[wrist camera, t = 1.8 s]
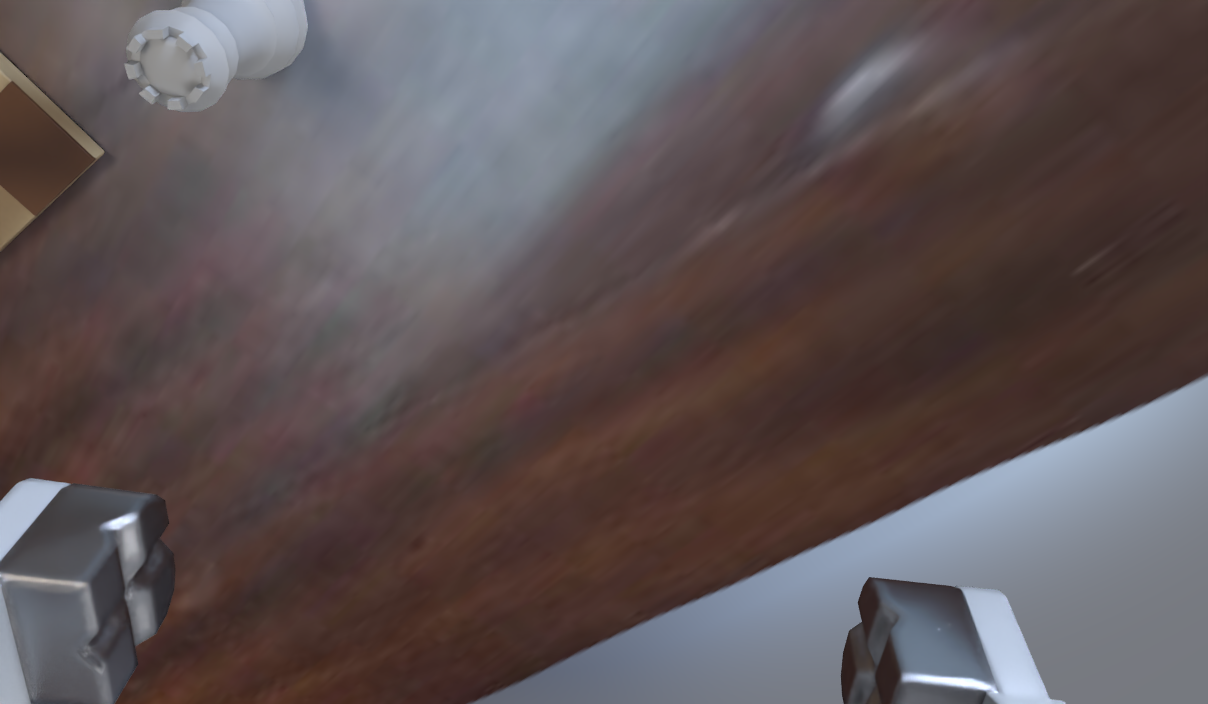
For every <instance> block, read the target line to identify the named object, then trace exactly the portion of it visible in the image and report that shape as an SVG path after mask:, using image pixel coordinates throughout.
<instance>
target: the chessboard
mask: <svg viewBox="0 0 1208 704" xmlns="http://www.w3.org/2000/svg"><path fill="white" fill-rule="evenodd" d="M103 154H104V150H103V149H102V148H101V147H100V146H99V145H97V144H96V143H95V142H94V141H93V140H92V139H91V138H90V137H89V136H88V135H87V134H86V133H85V132H84V131H83V130H82V129H81V128H80V127H79V126H78V125H76V124H75V123H74V122H73V121H72V120H71V119H70V118H69V117H68V116H67V115H66V114H65V113H64V112H63V111H62V110H61V109H60V108H59V107H58V106H56V105H55V104H54V103H53V102H52V101H51V100H50V99H49V98H48V97H47V96H46V95H45V94H44V93H43V92H42V91H41V90H40V89H39V88H38V87H36V86H35V85H34V84H33V83H32V82H31V81H30V80H29V79H28V78H27V77H26V76H25V75H24V74H23V73H22V72H21V71H20V70H19V69H18V68H16V67H15V66H14V65H13V64H12V63H11V62H10V61H9V60H8V59H7V58H6V57H5V56H4V55H3V54H2V53H1V52H0V252H1V251H2V250H3V249H4V248H5V247H6V246H7V245H8V244H9V243H10V242H11V241H12V240H13V239H14V238H16V237H17V236H18V235H19V234H20V233H21V232H22V231H23V230H24V229H25V228H26V227H27V226H28V225H29V224H30V223H31V222H32V221H34V220H35V219H36V218H37V217H38V216H39V215H40V214H41V213H42V212H43V211H44V210H45V209H46V208H47V207H48V206H49V205H50V204H51V203H53V202H54V201H55V200H56V199H57V198H58V197H59V196H60V195H61V194H62V193H63V192H64V191H65V190H66V189H67V188H68V187H69V186H70V185H72V184H73V183H74V182H75V181H76V180H77V179H78V178H79V177H80V176H81V175H82V174H83V173H84V172H85V171H86V170H87V169H88V168H90V167H91V166H92V165H93V164H94V163H95V162H96V161H97V160H98V159H99V158H100V157H101V156H102V155H103Z"/></svg>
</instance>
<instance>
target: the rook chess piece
mask: <svg viewBox="0 0 1208 704" xmlns="http://www.w3.org/2000/svg"><path fill="white" fill-rule="evenodd" d="M307 29H308V23H307V18H306V12H305V7H304V2H303V0H182V1H181V7H177V8H175V9H173V10H157V11H153V12H151V13H149V14H147V15H145V16H143V17H142V18H140V19H138V20H137V22H136V23H135V25H134V27H133V28H132V30H131V31H130V33H129V34H128V41H127V48H126V56H127V59H128V62H127V63H125V64H124V65H125V68H126V72H127V75H128V79H133V78H135V80H136V81H137V82H138V84H139V85H140V87H141V88H142V91H141V92H140V93H139V95H141V96H142V97H143V98H145V99H146V100H147V101H148V102H150V103H151V104H154V103H155V102H158V103H159V104H160V105H162V106H165V107H168V110H176V111H179V112H200V111H202V110H204V109H206V108H208V107H210V106H212V105H214V104H216V103H217V101H218V100H219V99H220V97H221V96H222V95H223V93H224V92H225V90H226V88H227V85H228V83H229V82H230V81H231V79H232V78H235V79H264V78H266V77H268V76H270V75H272V74H274V73H276V72H278V71H280V70H282V69H283V68H285V67H288V66H290V65H291V64H292V63H293V61H294V60H295V59H296V57H297V56H298V55H299V53H300V52H301V51H302V49H303V48H304V43H305V38H306V34H307Z"/></svg>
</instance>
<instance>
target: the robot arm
mask: <svg viewBox="0 0 1208 704" xmlns="http://www.w3.org/2000/svg"><path fill="white" fill-rule="evenodd" d="M168 524H169V519H168V514H167V509H166V503H165V500H164V499H162V498H161V497H159V496H158V495H154V494H147V493H140V492H132V491H125V490H118V489H111V488H104V487H96V486H89V485H82V484H75V483H73V484H68V483H62V482H55V481H47V480H40V479H33V478H29V479H27V480H24V481H21V482H19V483H17V484H16V485H15V486H14V487H13V488H12V489H11V490H10V491H9V492H8V493H7V494H6V495H5V497H4V498H3V499H2V500H1V501H0V704H114V703H115V702H116V700H117V698H118V697H119V695H120V693H121V692H122V690H123V688H124V687H125V685H126V683H127V682H128V680H129V678H130V677H131V675H132V673H133V671H134V670H135V668H136V666H137V665H138V661H137V655H136V649H135V646H136V645H138V644H140V643H141V642H143V641H145V640H146V639H148V638H150V637H151V636H153V635H155V634H156V633H157V631H158V629H159V627H160V625H161V624H162V622H163V620H164V618H165V617H166V615H167V612H168V608H169V605H170V602H171V598H172V595H173V592H174V584H175V562H174V554H173V552H172V551H171V550H170V549H169V548H168V547H167V546H166V545H165V544H164V543H163V542H162V540H161V539H160V537H161V535H162V534H163V532H164V531H165V529H166V527H167V526H168ZM858 605H859V610H860V615H861V619H862V622H861V623H859V624H858V625H857V626H855V627H854V628H852V629H851V630H850V631H849V633H848V637H847V640H846V644H845V648H844V651H843V660H842V670H841V685H842V697H843V702H844V704H1066V703H1065V702H1064V701H1059V700H1051V699H1050V698H1049V696H1048V694H1047V691H1046V689H1045V686H1044V684H1043V682H1042V679H1041V677H1040V675H1039V672H1038V670H1037V668H1036V665H1035V663H1034V661H1033V658H1032V656H1031V654H1030V651H1029V649H1028V647H1027V644H1026V642H1025V640H1024V637H1023V635H1022V632H1021V630H1020V628H1019V626H1018V623H1017V621H1016V618H1015V616H1014V614H1013V611H1012V609H1011V607H1010V604H1009V602H1008V600H1007V597H1006V596H1005V595H1004V594H1003V593H1002V592H1001V591H1000V590H996V589H985V588H974V587H964V586H955V587H952V586H946V585H936V584H927V583H917V582H909V581H899V580H890V579H881V578H871V577H869V578H868V580H867V581H866V583H865V584H864V586H863V588H862V591H861V594H860V597H859V601H858Z"/></svg>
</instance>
